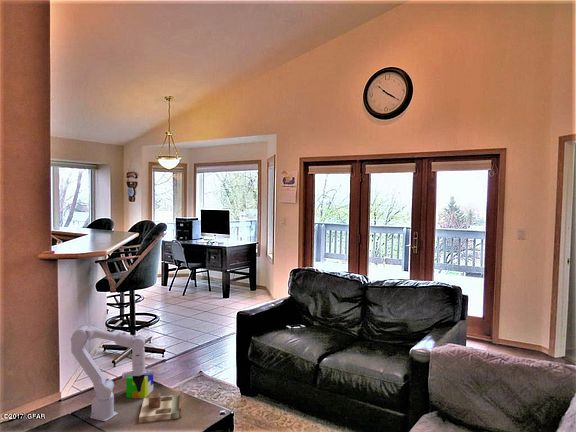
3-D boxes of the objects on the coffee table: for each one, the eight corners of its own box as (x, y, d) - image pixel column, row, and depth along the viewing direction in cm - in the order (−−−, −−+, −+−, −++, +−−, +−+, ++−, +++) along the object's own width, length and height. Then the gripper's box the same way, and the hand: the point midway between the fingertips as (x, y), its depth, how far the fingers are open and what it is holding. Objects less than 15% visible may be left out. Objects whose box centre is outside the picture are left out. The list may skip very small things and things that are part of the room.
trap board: (139, 422, 183) (139, 412, 183) (144, 403, 201) (144, 394, 201) (181, 417, 187) (181, 408, 187) (182, 399, 206) (182, 390, 206)
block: (148, 408, 190) (148, 398, 190) (149, 404, 195) (149, 393, 195) (159, 407, 192) (159, 397, 192) (160, 402, 196) (160, 392, 196)
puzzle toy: (153, 389, 217) (153, 371, 217) (144, 398, 207) (144, 378, 207) (135, 388, 218) (135, 370, 218) (126, 397, 208) (126, 378, 208)
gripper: (155, 358, 197) (155, 385, 197) (123, 360, 194) (124, 389, 194) (154, 363, 190) (154, 391, 190) (121, 366, 187) (121, 395, 187)
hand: (139, 390), depth 192 cm, fingers closed
